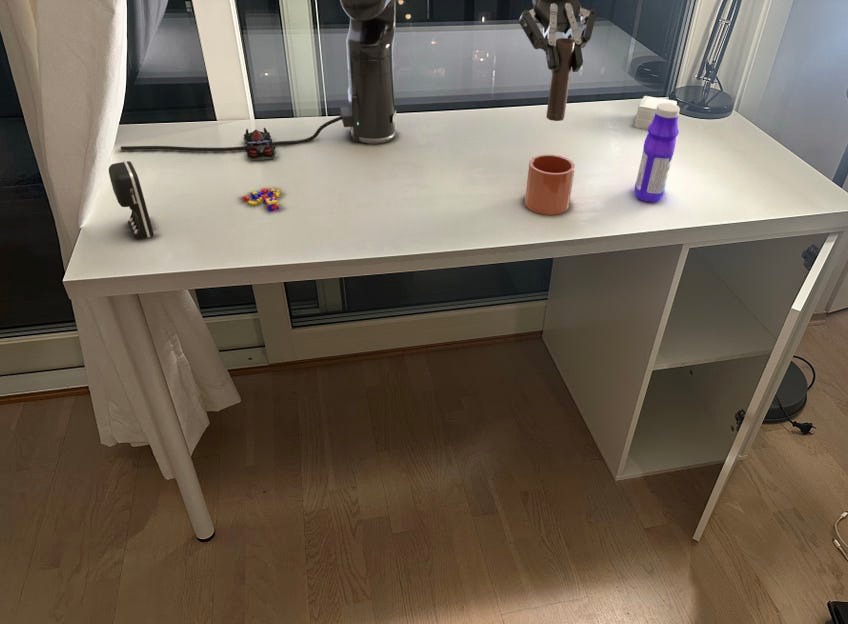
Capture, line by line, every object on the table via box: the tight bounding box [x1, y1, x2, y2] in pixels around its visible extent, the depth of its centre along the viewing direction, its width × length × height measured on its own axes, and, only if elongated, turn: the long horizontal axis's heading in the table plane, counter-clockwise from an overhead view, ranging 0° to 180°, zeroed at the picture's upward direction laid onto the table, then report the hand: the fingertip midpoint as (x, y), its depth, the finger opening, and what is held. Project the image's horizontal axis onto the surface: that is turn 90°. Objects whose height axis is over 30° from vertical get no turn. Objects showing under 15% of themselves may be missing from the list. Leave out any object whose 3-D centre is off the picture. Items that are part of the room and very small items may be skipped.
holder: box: [524, 154, 576, 216], centre depth 130 cm, size 8×8×8 cm
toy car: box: [242, 126, 276, 161], centre depth 144 cm, size 6×12×4 cm, turn 18°
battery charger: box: [108, 160, 155, 239], centre depth 115 cm, size 7×4×11 cm, turn 30°
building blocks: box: [242, 186, 281, 212], centre depth 128 cm, size 6×8×2 cm
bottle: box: [634, 103, 681, 203], centre depth 131 cm, size 7×6×17 cm
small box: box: [633, 95, 678, 130], centre depth 163 cm, size 8×8×5 cm
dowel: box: [545, 37, 575, 122], centre depth 121 cm, size 3×3×13 cm
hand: (566, 69), depth 118 cm, fingers closed on dowel, 3 cm apart
